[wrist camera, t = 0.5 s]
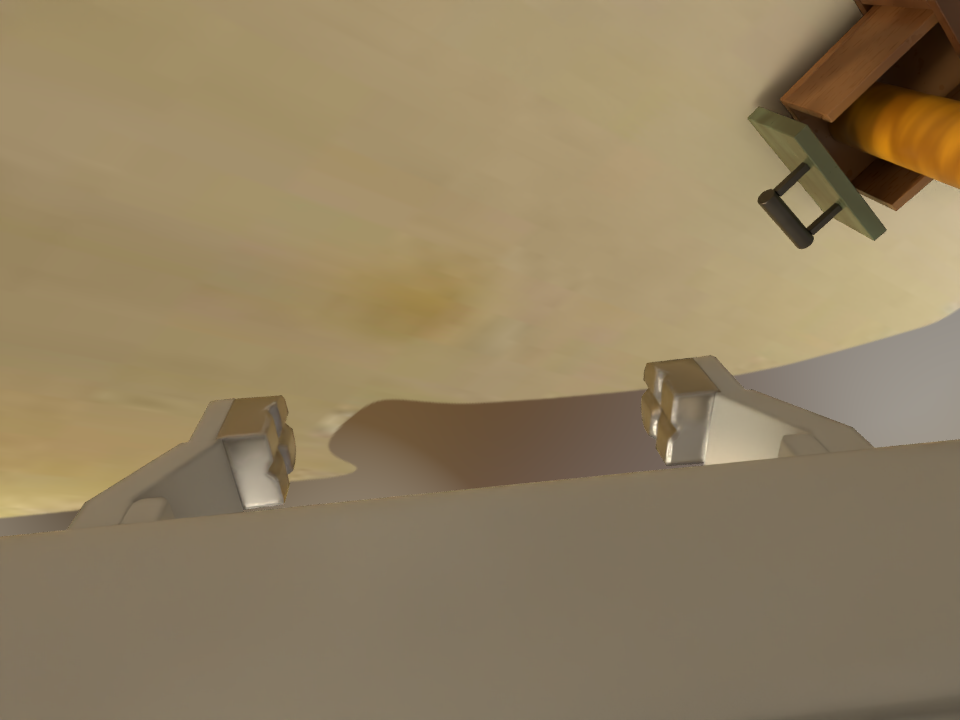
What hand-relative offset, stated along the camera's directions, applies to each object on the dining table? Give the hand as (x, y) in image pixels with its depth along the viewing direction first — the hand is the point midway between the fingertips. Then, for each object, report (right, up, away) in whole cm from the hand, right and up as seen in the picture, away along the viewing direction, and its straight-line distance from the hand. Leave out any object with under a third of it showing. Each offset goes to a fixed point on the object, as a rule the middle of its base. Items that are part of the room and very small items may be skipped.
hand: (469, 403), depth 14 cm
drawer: (+30, +21, +37) cm, 51 cm away
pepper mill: (+30, +21, +35) cm, 51 cm away
